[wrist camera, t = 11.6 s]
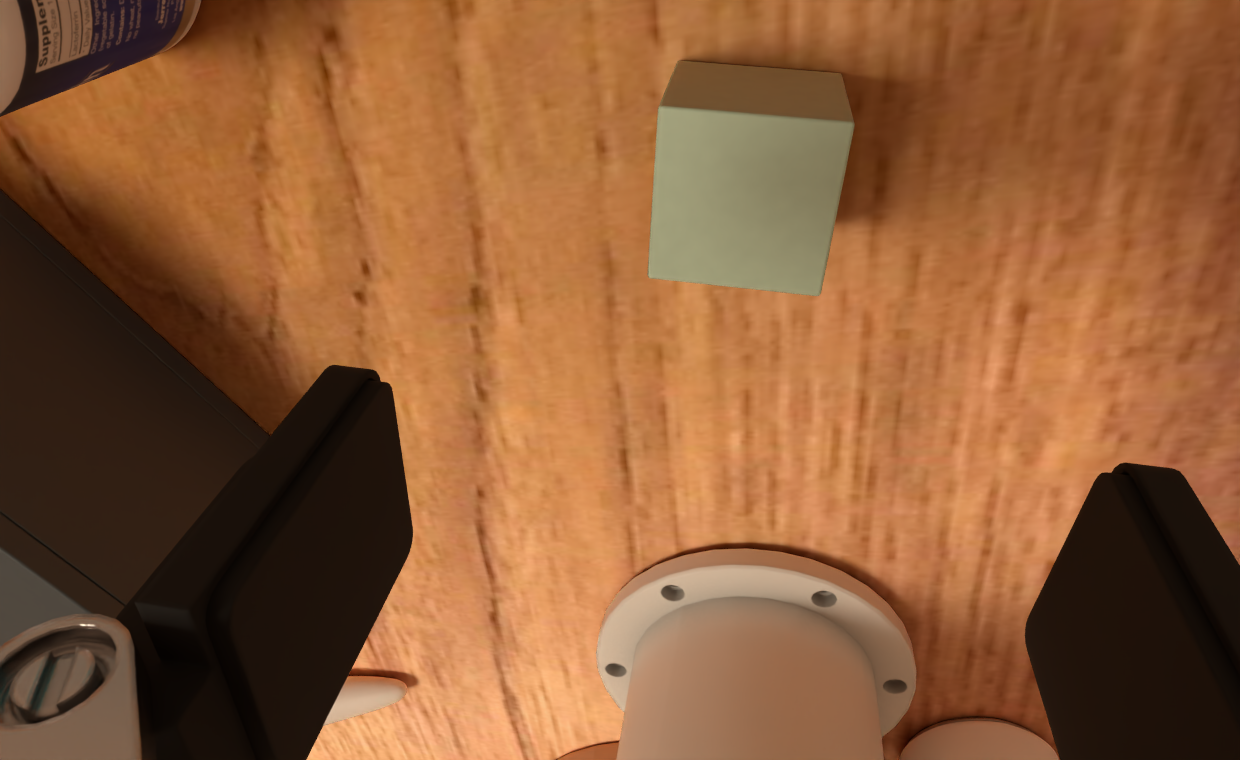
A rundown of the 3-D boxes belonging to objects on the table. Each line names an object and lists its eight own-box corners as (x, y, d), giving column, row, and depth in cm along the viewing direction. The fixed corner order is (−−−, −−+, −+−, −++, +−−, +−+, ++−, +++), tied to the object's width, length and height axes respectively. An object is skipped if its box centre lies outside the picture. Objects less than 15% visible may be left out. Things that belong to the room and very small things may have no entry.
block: (842, 72, 21) (855, 122, 17) (813, 226, 23) (820, 297, 20) (677, 59, 21) (657, 105, 18) (665, 212, 24) (647, 278, 20)
